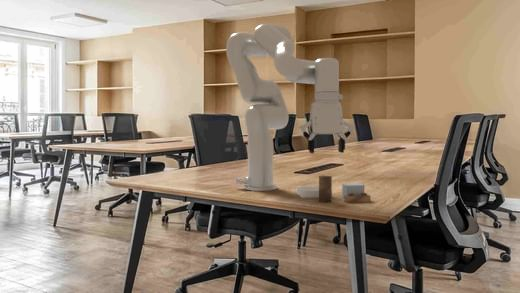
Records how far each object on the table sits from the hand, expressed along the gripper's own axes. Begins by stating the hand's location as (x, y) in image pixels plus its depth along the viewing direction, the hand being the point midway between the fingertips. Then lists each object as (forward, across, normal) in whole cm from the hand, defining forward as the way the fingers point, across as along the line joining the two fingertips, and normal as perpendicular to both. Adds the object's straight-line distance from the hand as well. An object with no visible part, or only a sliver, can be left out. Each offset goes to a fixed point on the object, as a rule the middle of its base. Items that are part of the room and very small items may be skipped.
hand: (326, 152), depth 135 cm
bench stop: (+16, -10, +2) cm, 19 cm away
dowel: (+16, 0, 0) cm, 16 cm away
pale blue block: (+16, -10, -2) cm, 19 cm away
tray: (+16, +1, -10) cm, 19 cm away
